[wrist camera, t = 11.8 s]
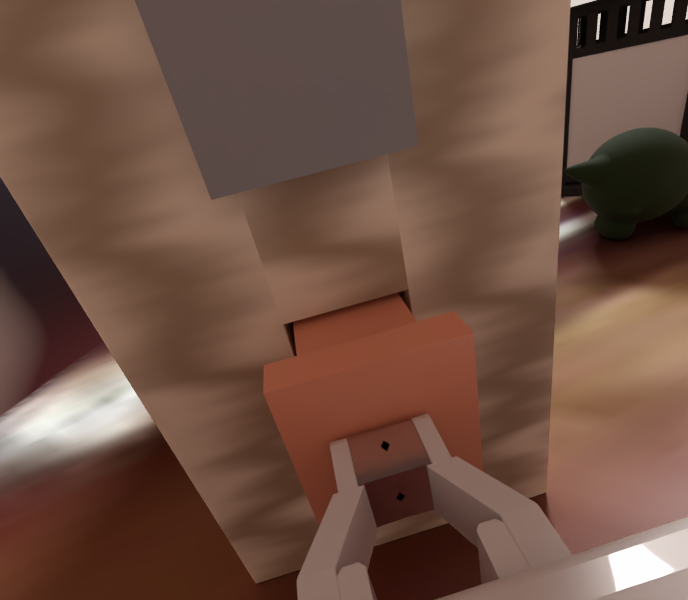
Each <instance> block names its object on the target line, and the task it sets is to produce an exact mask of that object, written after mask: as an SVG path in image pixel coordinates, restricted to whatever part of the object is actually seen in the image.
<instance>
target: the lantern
mask: <svg viewBox="0 0 688 600" xmlns="http://www.w3.org/2000/svg"><path fill="white" fill-rule="evenodd" d="M646 1H649V0H596V1H593V2H589V3H585V4H582V5H578V6H574V7H571V8H570V23H569V43H568V64H567V84H566V104H565V124H564V144H563V165H562V185H561V196H582V195H583V193H582V184H581V182H579V181H577V180H575V179H573V178H572V177H570V176H568V175H567V174H565V172H564V171H565V169H566V168H568V167H570V166H573V165H576V164H579V163H582V162H585V161H588V160H589V159H590V157H591V156H592V155H593V153H594V152H595V151H596V150H597V149H598V148H599V147H600V146H601V145H602V144H604V143H605V142H606V141H608V140H609V139H611V138H613V137H614V136H616V135H618V134H620V133H623V132H625V131H628V130H632V129H636V128H648V127H653V128H659V129H664V130H667V131H671V132H673V133H675V134H677V135H678V136H680V137H681V138H683V139H684V140H685V141H686V142H687V143H688V19H687V20H685V18H686V12H687V6H688V0H675V2H674V8H673V16H672V22H671V23H669V24H665V25H662V18H663V11H664V4H665V0H653V5H652V12H651V20H650V27H649V28H647V29H643V22H644V14H645V7H646ZM627 6H630V12H629V21H628V30H627V33H626V34H625V25H626V15H627ZM599 13H601V20H600V31H599V40H596V32H597V19H598V14H599ZM578 19H579V22H578ZM577 28H578V39H577ZM579 30H580V34H579ZM576 45H577V46H576Z"/></svg>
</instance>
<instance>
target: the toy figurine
mask: <svg viewBox="0 0 688 600" xmlns="http://www.w3.org/2000/svg"><path fill="white" fill-rule="evenodd" d="M564 172H565V174H567V175H568V176H570V177H572V178H573V179H575V180H577V181H579V182H581V184H582V193H583V195H582V199H583V201H584V202H585V203H587V204H588V206H589V207H590V208H591V209H592V210H593V211H594V212H595V213H596V214H598V216H597V218H596V220H595V222H594V223H595V229H596V230H597V231H598V232H599V233H600V234H601V235H602V236H604V237H607V238H609V239H614V240H622V239H625V238H627V237H629V236H630V235H631V234H632V233H633V232H634V230H635V226H636V223H638V222H643V221H648V220H651V219H654V218H656V217H659V216H666V217H673V221H674V223H675V224H677V225H678V226H680V227H683V228H687V229H688V143H687V142H686V141H685V140H684V139H683V138H681V137H680V136H678V135H677V134H675V133H673V132H671V131H667V130H664V129H659V128H653V127H648V128H636V129H632V130H628V131H625V132H623V133H620V134H618V135H616V136H614V137H613V138H611V139H609V140H608V141H606V142H605V143H604V144H602V145H601V146H600V147H599V148H598V149H597V150H596V151H595V152H594V153H593V155H592V156H591V157H590V159H589V160H588V161H585V162H582V163H579V164H576V165H573V166H570V167H568V168H566V169H565V171H564Z"/></svg>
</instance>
